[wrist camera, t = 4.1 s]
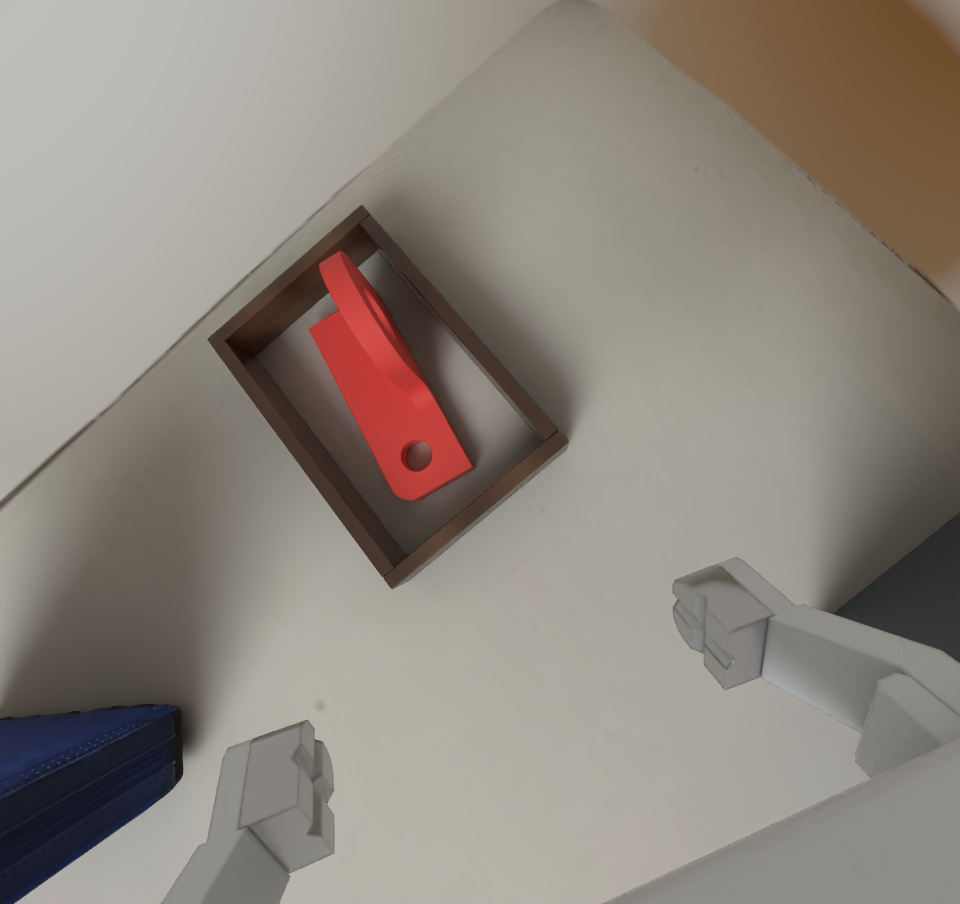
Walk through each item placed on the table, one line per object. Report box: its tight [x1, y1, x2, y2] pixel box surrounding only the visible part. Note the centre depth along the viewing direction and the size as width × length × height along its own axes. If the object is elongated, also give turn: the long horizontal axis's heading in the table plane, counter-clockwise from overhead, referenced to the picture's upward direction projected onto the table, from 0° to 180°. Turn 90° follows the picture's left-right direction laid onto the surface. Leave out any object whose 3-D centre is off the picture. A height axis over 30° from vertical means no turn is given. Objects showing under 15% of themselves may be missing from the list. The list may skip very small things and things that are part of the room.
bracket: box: [309, 251, 475, 500], centre depth 25 cm, size 12×4×8 cm, turn 29°
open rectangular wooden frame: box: [207, 205, 569, 589], centre depth 28 cm, size 12×18×3 cm, turn 39°
